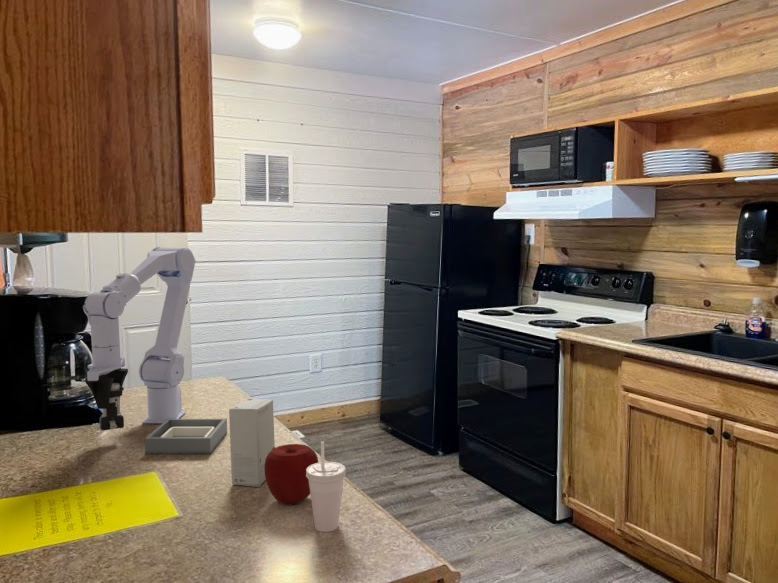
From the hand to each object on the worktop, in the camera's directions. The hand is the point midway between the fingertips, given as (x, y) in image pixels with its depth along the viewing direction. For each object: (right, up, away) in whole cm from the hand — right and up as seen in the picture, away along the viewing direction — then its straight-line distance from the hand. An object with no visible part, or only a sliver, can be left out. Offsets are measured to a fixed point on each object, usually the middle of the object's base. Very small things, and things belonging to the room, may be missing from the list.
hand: (108, 404), depth 140 cm
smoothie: (+53, -13, -40) cm, 68 cm away
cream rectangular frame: (+18, -9, 0) cm, 20 cm away
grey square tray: (+18, -9, 0) cm, 20 cm away
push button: (0, -6, 0) cm, 6 cm away
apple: (+46, -12, -30) cm, 56 cm away
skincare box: (+37, -11, -20) cm, 44 cm away
